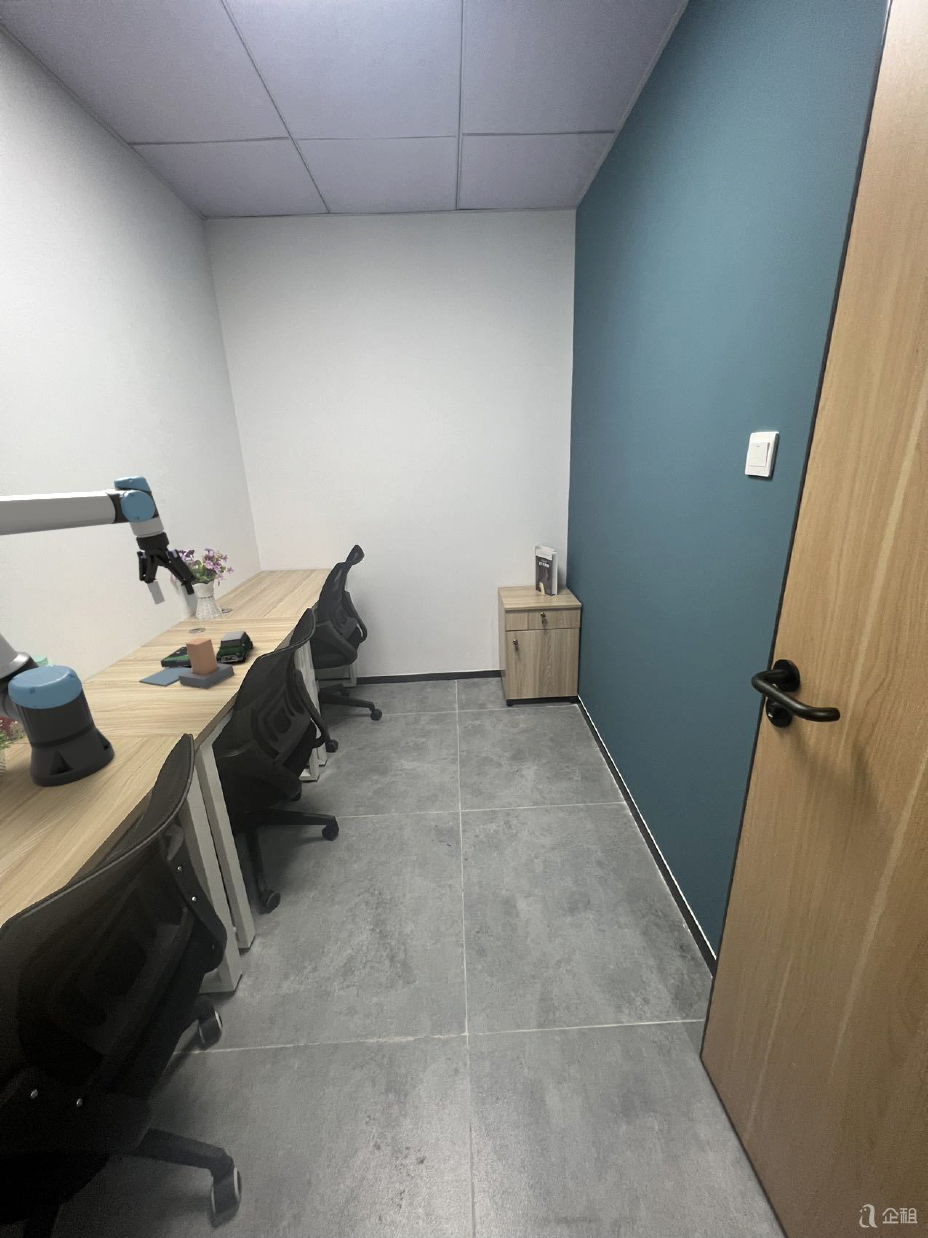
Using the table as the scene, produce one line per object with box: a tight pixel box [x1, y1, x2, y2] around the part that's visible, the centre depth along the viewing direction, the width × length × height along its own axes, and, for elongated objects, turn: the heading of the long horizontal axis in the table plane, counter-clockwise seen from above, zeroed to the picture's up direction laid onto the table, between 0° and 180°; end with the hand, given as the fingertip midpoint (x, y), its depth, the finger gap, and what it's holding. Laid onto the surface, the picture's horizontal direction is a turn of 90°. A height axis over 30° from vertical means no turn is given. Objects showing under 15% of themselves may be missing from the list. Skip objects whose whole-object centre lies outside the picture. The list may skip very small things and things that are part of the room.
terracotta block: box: [185, 637, 218, 675], centre depth 153 cm, size 5×5×13 cm
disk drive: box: [160, 646, 191, 668], centre depth 171 cm, size 10×3×15 cm
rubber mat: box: [138, 666, 192, 688], centre depth 159 cm, size 12×12×1 cm
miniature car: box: [215, 630, 254, 664], centre depth 171 cm, size 9×18×8 cm, turn 12°
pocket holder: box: [178, 663, 235, 689], centre depth 155 cm, size 11×11×3 cm
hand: (176, 603), depth 144 cm, fingers open, 13 cm apart
